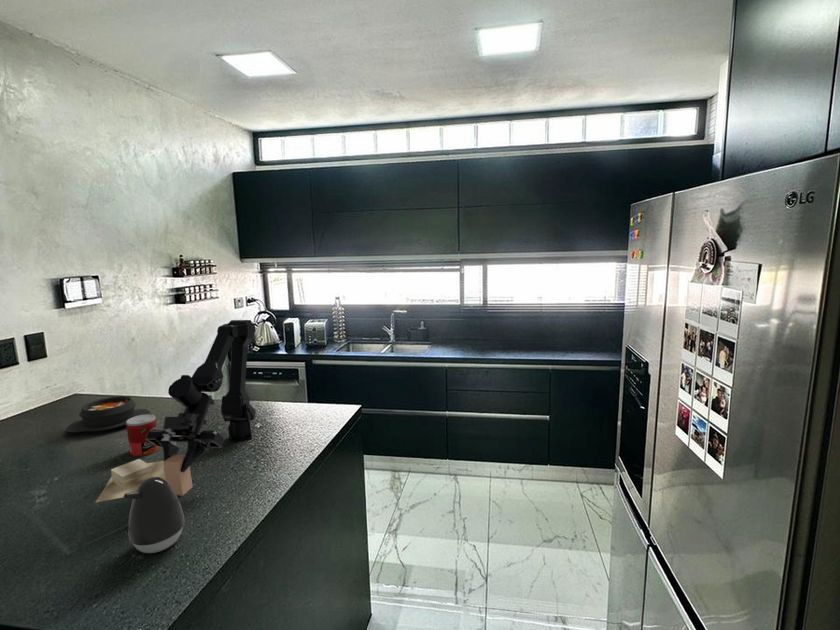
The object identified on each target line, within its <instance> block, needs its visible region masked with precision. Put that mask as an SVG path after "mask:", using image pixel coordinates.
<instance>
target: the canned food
mask: <svg viewBox="0 0 840 630" xmlns="http://www.w3.org/2000/svg"><path fill="white" fill-rule="evenodd" d="M156 418H157V417H156V416H155V415H154V414H151V413H150V414H146V415H139V416H135V417H132V418H130V419H128V420H127V421H126V425H125V426H126V432H127V440H128V446H129V452H130V455H131V456H133V457H143V456H148V455H151V454H153V453H155V452H157V451H158V450H159V449H160V447H158V446H155V445H154V444H152V443H150V442H149V441H147V440H145V439H146V436H147V434H148V432H149V431H151V430H158V426H157V420H156Z"/></svg>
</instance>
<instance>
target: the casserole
mask: <svg viewBox="0 0 840 630" xmlns="http://www.w3.org/2000/svg"><path fill="white" fill-rule="evenodd" d="M136 406H137V402H136V401H134V399H133V397H131V396H127V395H126V396H123V395H120V396H110V397H105V398H100V399H96V400H93V401H91V402H88V403H86V404H85V405H83V406H82V407H81V410H80V412H79V413H78V417H80V418H81V419H79V420H76V421H73V422H72V423H70V424H69V425H68V426H67V427H66V428H65V430H66V432H67V433H68V432H69V433H73V434H74V433H82V432H83V433H84V432H104V431H112V430H115V429H119V428H121V427H123V426H126V421H127V420H128V419H130V418H132V417H135V416H139V415H146V414H151V411H150V410H149V409H147V408H138V409H137V408H135V407H136Z"/></svg>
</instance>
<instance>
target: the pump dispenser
mask: <svg viewBox="0 0 840 630" xmlns="http://www.w3.org/2000/svg"><path fill="white" fill-rule="evenodd" d="M123 499H124V500H132V502H131V506H130V510H129V516H128V525H127V527H128V528H127V529H128V531H127V532H128V539H129V542H130V543H131V544H132V545H133V546H134V547H135V549H137V551H139V552H141V553H143V554H144V553H145V554H155V553H158V552H162V551H164V550H166V549H168V548H170V547H172V545H174V544H175V543H176V542H177V541H178V539H180V536H181V534H182V532H183V527H184V526H185V514H184V511H183V507H182V505H181V503H180V500H179V498H178V495H176V494H175V492H174V490H173V489H172V488H171V486H170V485H169V484H168V483H167V482H166V481H165V480H164V479H162V478H160V477H151V478H148V479H146V480H145V481H143V482H142V483H141V484H140V485H139V487H138V489H137V490H136V492H132V493H126V494H124V497H123Z"/></svg>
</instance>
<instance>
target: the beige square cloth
mask: <svg viewBox="0 0 840 630" xmlns="http://www.w3.org/2000/svg"><path fill="white" fill-rule="evenodd" d="M163 462H164V460H159V461H154V462H147V463H148V464H149V465H151V469H152V477H160V478H162V479H164V480H165V481H166V477H165V471H164V465H163ZM141 483H142V482H141ZM141 483H139V484H136V485H134V486H132V487H129V488H127V489H123V488H121V487H120V486H118V485H117V484H115V483H114V482H113V480H112V476H111V477H110V478H109V480H108V482H107V484H106V485H105V486H104V488H103V490H102V491H101V493H100V494H99V496H98V498H96V500H95V503H101V502H107V501H112V500H117V499H122V498H123V499H124V494H126V493H132V492H136V490H137V489H138V487H139V485H140V484H141Z"/></svg>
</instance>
